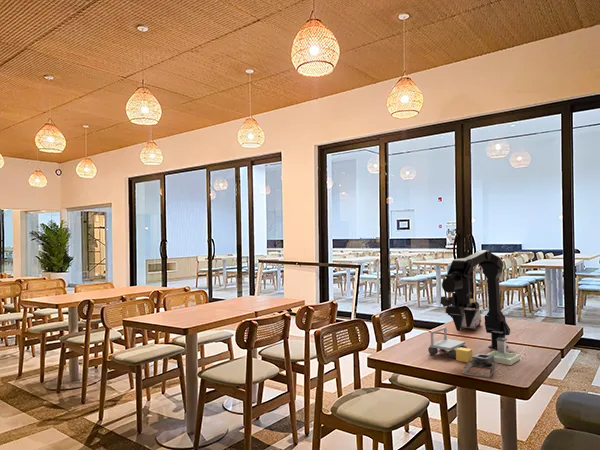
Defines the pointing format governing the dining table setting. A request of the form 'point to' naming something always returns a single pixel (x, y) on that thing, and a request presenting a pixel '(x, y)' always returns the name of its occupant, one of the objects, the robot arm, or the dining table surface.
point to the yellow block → (464, 354)
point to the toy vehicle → (475, 321)
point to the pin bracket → (483, 358)
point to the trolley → (445, 344)
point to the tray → (509, 361)
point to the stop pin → (501, 347)
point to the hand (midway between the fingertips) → (463, 329)
